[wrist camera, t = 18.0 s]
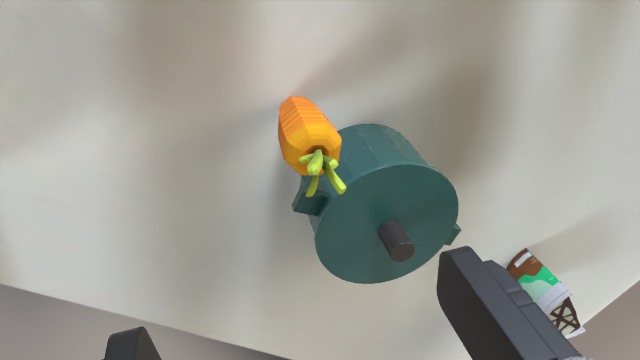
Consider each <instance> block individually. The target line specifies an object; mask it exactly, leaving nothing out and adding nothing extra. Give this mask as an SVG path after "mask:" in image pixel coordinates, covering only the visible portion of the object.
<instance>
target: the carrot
mask: <svg viewBox="0 0 640 360" xmlns="http://www.w3.org/2000/svg"><path fill="white" fill-rule="evenodd" d="M278 138H279V142H280V147H281V150H282V154H283V157H284V160H285V161H286V162H287V163H288V164H289V165H290V166H292V167H293V168H294V169H295V170H296V171H297V172H298V173H299V174H300V175H313V176H312V180H311V183H310V186H309V188H308V191H307V193H306V195H305V196H307V197H312V196H313V195H314V193H315V191H316V188H317V185H318V180H319V175H322V174H324V173H325V174H326V176H327V177H328V179H329V180H330V182H331V184H332V185H333V187H334V188H335V190H336V191H337V192H338V193H339V194H343V193H344V192H345V191H346V186H345V184H344V183H343V182H342V181H341V179H340V178H339V177H338V176H337V174H336V173H335V172H334V170H333V169H335V168H336V167H337V166H338V165H339V164H338V163H337V162H338V161H339V155H340V149H341V143H342V139H341V137H340V135H339V134H338V132H337V131H336V129H335V128H334V127H333V125H332V124H331V123H330V121H329V120H328V119H327V118H326V117H325V115H324V114H323V113H322V112H321V111H320V110H319V109H318V108H317V107H316V105H314V104H313V103H312V102H311V101H309V100H308V99H306V98H304V97H289V98H287V99H286V100H285V101H284V102H283V103H282V104H281V106H280V109H279V124H278Z"/></svg>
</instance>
